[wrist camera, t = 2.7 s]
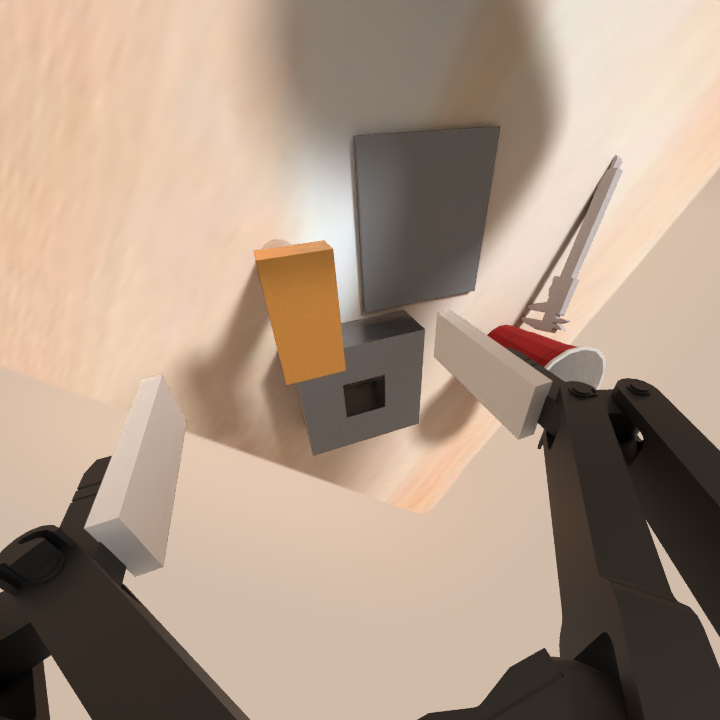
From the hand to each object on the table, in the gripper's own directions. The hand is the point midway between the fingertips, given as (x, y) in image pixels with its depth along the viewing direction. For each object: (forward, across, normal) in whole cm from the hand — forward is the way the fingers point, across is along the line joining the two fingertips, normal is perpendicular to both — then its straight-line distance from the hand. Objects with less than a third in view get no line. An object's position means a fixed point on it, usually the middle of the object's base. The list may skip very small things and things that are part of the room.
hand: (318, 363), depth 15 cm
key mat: (+18, +15, +1) cm, 24 cm away
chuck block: (+18, +6, -15) cm, 24 cm away
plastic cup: (+18, +28, -16) cm, 37 cm away
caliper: (+18, +36, -4) cm, 40 cm away
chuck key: (+18, 0, 0) cm, 18 cm away
